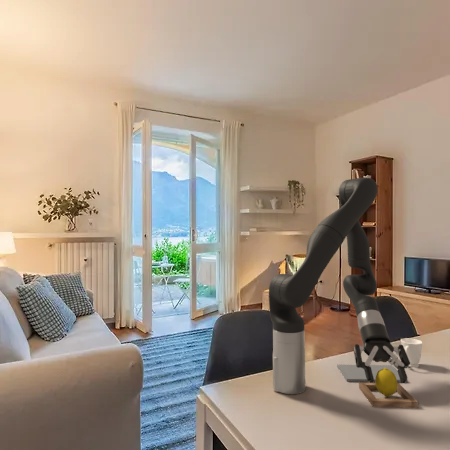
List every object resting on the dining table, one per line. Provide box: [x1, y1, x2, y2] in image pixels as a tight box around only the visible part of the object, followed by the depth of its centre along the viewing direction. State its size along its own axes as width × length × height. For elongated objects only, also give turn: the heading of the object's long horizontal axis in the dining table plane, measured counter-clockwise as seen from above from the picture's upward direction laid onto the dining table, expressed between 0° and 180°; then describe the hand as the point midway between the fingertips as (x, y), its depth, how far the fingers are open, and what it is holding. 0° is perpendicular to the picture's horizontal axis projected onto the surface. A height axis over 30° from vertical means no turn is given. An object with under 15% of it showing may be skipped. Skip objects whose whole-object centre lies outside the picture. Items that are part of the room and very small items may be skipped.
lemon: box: [374, 368, 398, 398], centre depth 98 cm, size 6×6×8 cm
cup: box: [400, 337, 423, 368], centre depth 121 cm, size 7×10×8 cm
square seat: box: [358, 382, 419, 409], centre depth 98 cm, size 11×11×2 cm
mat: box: [336, 364, 408, 384], centre depth 114 cm, size 18×12×1 cm, turn 86°
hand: (388, 382), depth 97 cm, fingers open, 8 cm apart
